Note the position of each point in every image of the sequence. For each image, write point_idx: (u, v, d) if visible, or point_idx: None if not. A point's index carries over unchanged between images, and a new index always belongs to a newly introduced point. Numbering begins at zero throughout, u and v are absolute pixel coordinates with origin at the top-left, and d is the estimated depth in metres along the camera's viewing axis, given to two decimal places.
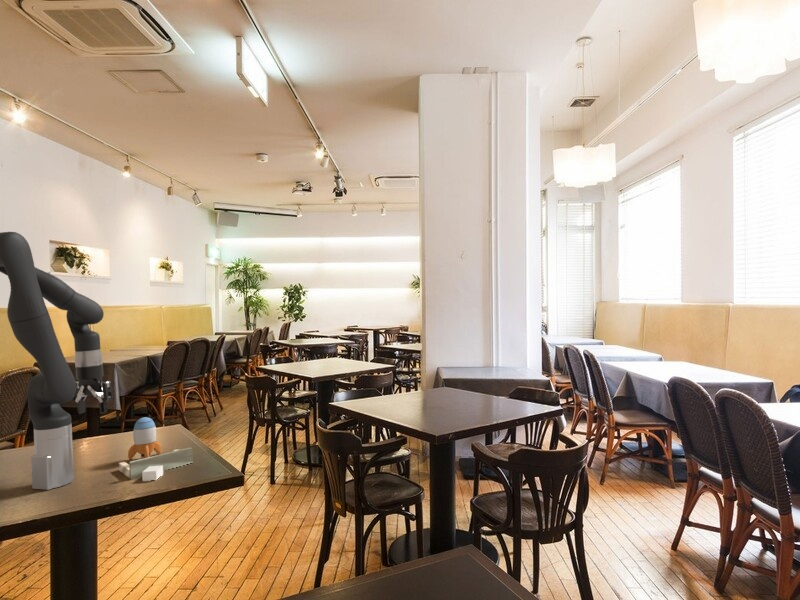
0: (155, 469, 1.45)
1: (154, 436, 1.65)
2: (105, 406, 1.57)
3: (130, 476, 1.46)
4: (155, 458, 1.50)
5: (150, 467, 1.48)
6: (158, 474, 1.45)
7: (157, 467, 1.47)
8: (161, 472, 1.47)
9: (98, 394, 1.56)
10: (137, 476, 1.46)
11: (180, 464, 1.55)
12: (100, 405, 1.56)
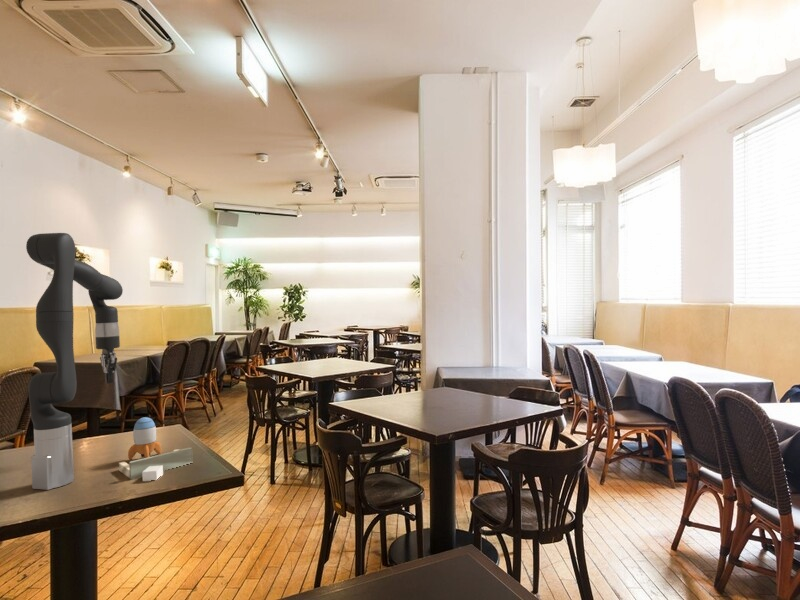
0: (155, 469, 1.45)
1: (154, 436, 1.65)
2: None
3: (130, 476, 1.46)
4: (155, 458, 1.50)
5: (150, 467, 1.48)
6: (158, 474, 1.45)
7: (157, 467, 1.47)
8: (161, 472, 1.47)
9: None
10: (137, 476, 1.46)
11: (180, 464, 1.55)
12: None
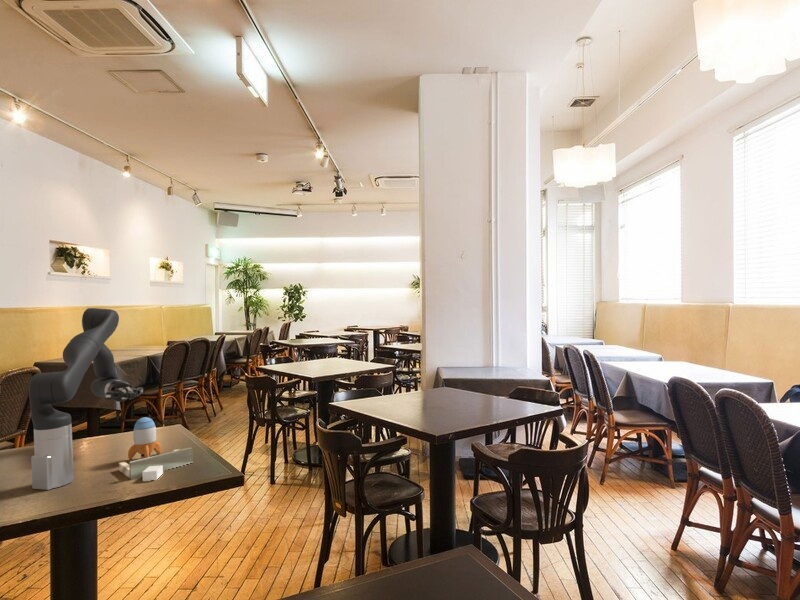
0: (155, 469, 1.45)
1: (154, 436, 1.65)
2: (125, 396, 1.73)
3: (130, 476, 1.46)
4: (155, 458, 1.50)
5: (150, 467, 1.47)
6: (158, 474, 1.45)
7: (157, 467, 1.47)
8: (161, 472, 1.47)
9: None
10: (137, 476, 1.46)
11: (180, 464, 1.55)
12: None
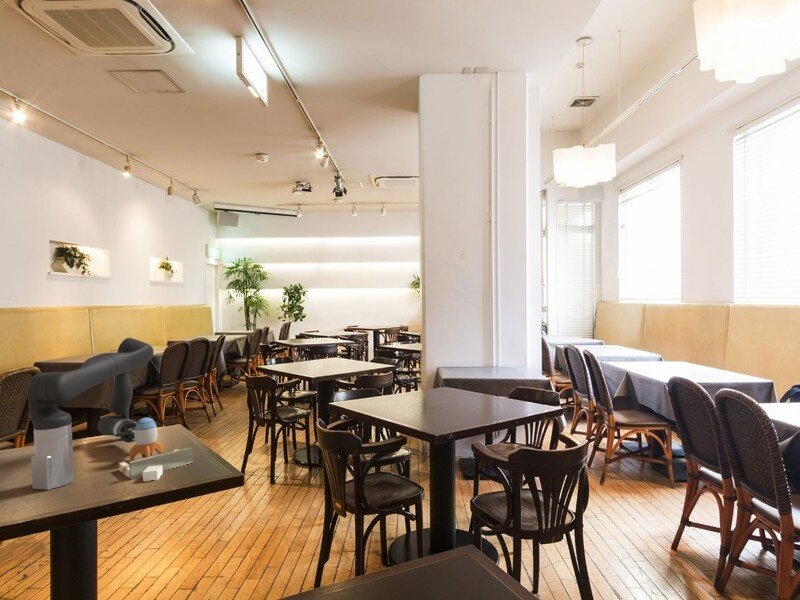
0: (155, 469, 1.45)
1: (155, 436, 1.65)
2: None
3: (130, 476, 1.46)
4: (155, 458, 1.50)
5: (150, 467, 1.47)
6: (158, 474, 1.45)
7: (157, 467, 1.47)
8: (161, 472, 1.47)
9: (132, 438, 1.71)
10: (137, 476, 1.46)
11: (180, 464, 1.55)
12: None
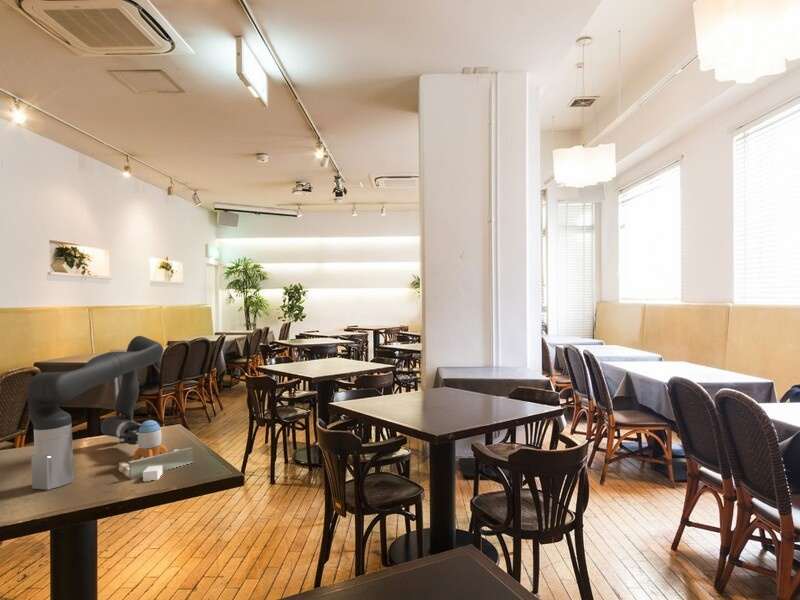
0: (155, 469, 1.45)
1: (158, 440, 1.60)
2: None
3: (130, 476, 1.46)
4: (155, 458, 1.50)
5: (150, 467, 1.47)
6: (158, 474, 1.45)
7: (157, 467, 1.47)
8: (161, 472, 1.47)
9: None
10: (137, 476, 1.46)
11: (180, 464, 1.55)
12: None
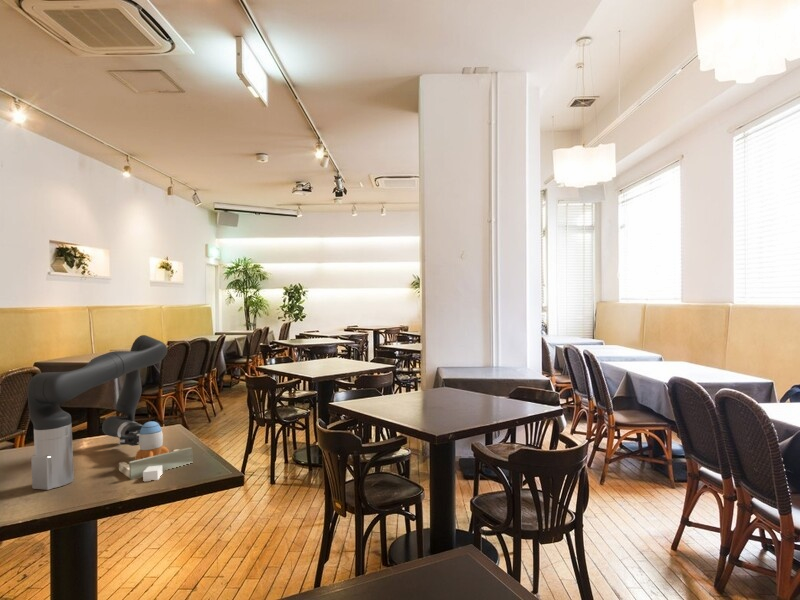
0: (156, 469, 1.45)
1: (159, 441, 1.58)
2: None
3: (130, 476, 1.46)
4: (155, 458, 1.50)
5: (150, 467, 1.47)
6: (158, 474, 1.45)
7: (157, 467, 1.47)
8: (161, 472, 1.47)
9: None
10: (137, 476, 1.46)
11: (180, 464, 1.55)
12: None
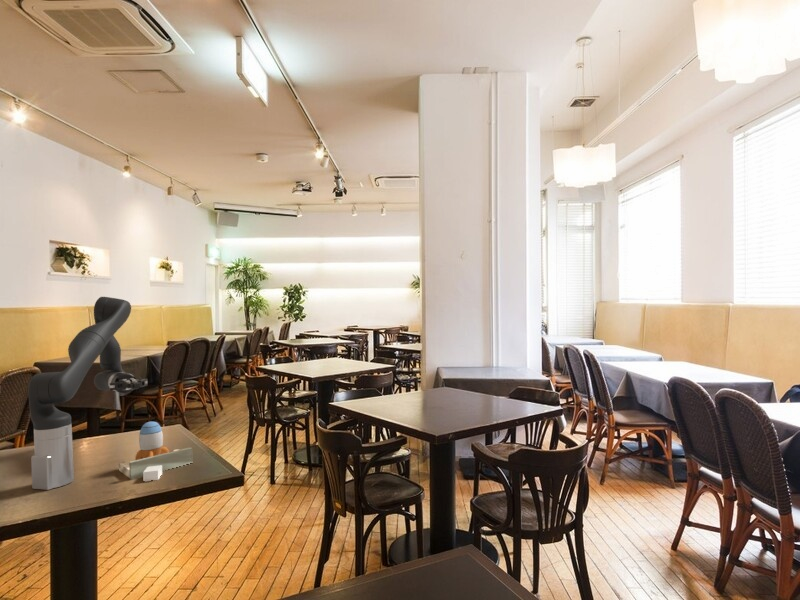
0: (156, 469, 1.45)
1: (160, 442, 1.58)
2: (130, 386, 1.69)
3: (130, 476, 1.46)
4: (155, 458, 1.50)
5: (149, 467, 1.47)
6: (159, 474, 1.45)
7: (157, 467, 1.47)
8: (160, 472, 1.47)
9: None
10: (137, 476, 1.46)
11: (180, 464, 1.55)
12: None
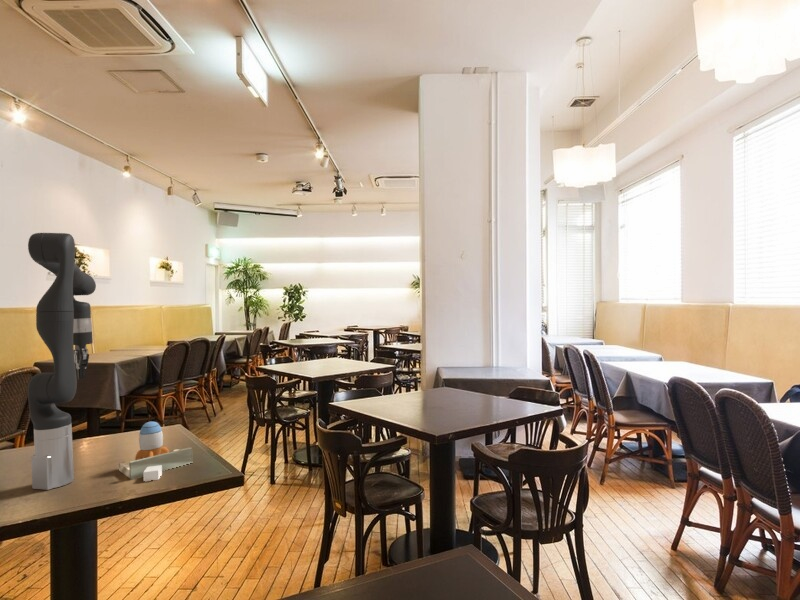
0: (156, 469, 1.45)
1: (160, 442, 1.58)
2: None
3: (130, 476, 1.46)
4: (155, 458, 1.50)
5: (149, 467, 1.47)
6: (159, 474, 1.45)
7: (157, 467, 1.47)
8: (160, 472, 1.47)
9: None
10: (137, 476, 1.46)
11: (180, 464, 1.55)
12: None
